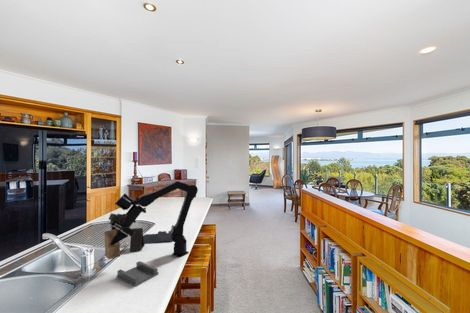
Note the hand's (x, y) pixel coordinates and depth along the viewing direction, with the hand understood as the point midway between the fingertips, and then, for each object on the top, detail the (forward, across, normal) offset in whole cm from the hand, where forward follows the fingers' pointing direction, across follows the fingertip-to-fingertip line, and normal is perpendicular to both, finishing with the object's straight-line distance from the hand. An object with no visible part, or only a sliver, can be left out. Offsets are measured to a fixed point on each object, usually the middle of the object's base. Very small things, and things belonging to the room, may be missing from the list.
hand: (109, 243), depth 112 cm
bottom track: (+5, +15, +14) cm, 21 cm away
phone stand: (-5, -17, +24) cm, 30 cm away
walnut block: (+4, 0, +6) cm, 7 cm away
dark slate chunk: (-16, -22, +36) cm, 45 cm away
